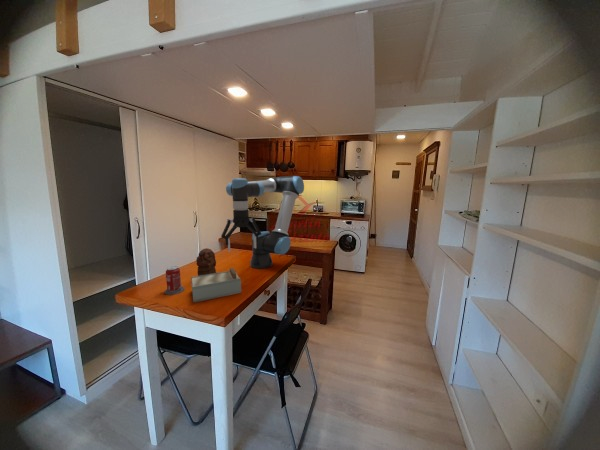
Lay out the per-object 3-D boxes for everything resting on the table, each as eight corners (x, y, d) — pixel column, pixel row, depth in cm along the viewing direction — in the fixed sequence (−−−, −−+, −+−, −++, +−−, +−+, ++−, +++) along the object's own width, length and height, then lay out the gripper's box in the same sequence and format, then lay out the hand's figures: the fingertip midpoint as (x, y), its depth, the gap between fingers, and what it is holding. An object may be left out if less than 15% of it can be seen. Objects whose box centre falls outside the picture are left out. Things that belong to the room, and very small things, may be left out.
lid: (235, 272, 122) (234, 266, 122) (239, 280, 112) (239, 273, 112) (192, 279, 112) (191, 273, 112) (193, 288, 102) (192, 281, 102)
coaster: (184, 285, 120) (184, 284, 120) (184, 292, 112) (184, 291, 112) (165, 288, 116) (164, 288, 116) (163, 296, 108) (163, 295, 108)
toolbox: (235, 282, 124) (235, 269, 123) (241, 292, 113) (240, 278, 112) (192, 291, 114) (191, 277, 113) (193, 302, 103) (192, 287, 101)
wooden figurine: (206, 283, 124) (204, 252, 121) (196, 281, 125) (194, 251, 122) (218, 275, 135) (217, 246, 132) (209, 274, 136) (207, 245, 133)
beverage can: (171, 287, 117) (169, 265, 115) (183, 287, 118) (181, 265, 115) (165, 293, 111) (162, 270, 109) (178, 292, 111) (176, 269, 109)
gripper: (261, 207, 122) (262, 244, 126) (213, 209, 111) (216, 250, 115) (266, 208, 116) (267, 248, 119) (215, 211, 104) (218, 254, 108)
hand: (242, 249), depth 117 cm, fingers open, 13 cm apart
